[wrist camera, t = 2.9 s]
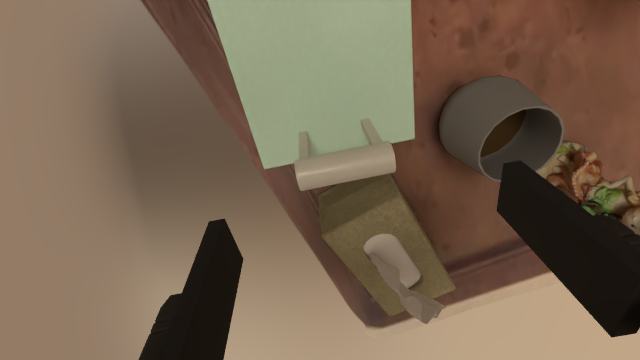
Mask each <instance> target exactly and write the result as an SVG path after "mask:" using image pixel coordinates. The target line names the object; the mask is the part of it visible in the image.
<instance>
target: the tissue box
mask: <svg viewBox="0 0 640 360" xmlns="http://www.w3.org/2000/svg"><path fill="white" fill-rule="evenodd" d="M317 198H318V207H319V217H320V226H321V235H322V238H323V239H324V240H325V241H326V242H327V244H328V245H329V246H330V247H331V248H332V250H333V251H334V252H335V253H336V254H337V255H338V257H339V258H340V259H341V260H342V261H343V262H344V264H345V265H346V266H347V267H348V268H349V269H350V271H351V272H352V273H353V274H354V275H355V277H356V278H357V279H358V280H359V281H360V282H361V284H362V285H363V286H364V287H365V288H366V289H367V291H368V292H369V293H370V294H371V295H372V296H373V298H374V299H375V300H376V301H377V302H378V303H379V305H380V306H381V307H382V308H383V309H384V311H385V312H386V313H387V314H388V315H389V316H393V315H395V314H398V313H400V312H403V311H405V310H407V312H408V313H410V314H411V315H413V316H414V317H415V318H417V319H418V320H420V321H421V322H423V323H426V324H427V323H428V322H429V321H430V320H431V319H432V317H433V318H437V317H438V315H439V313H440V312H441V310H442V309H443V308H446V307H445V306H444V305H442V304H440V303H438V302H437V301H435V300H433V299H434V298H436V297H438V296H441V295H443V294H446V293H448V292H450V291H453V290H455V288H456V287H455V286H454V284H453V282H452V280H451V278H450V276H449V274H448V273H447V271H446V269H445V267H444V265H443V263H442V261H441V259H440V258H439V256H438V254H437V252H436V250H435V248H434V246H433V245H432V243H431V241H430V240H429V238H428V236H427V234H426V233H425V231H424V229H423V228H422V226H421V224H420V222H419V221H418V219H417V217H416V216H415V214H414V212H413V210H412V209H411V207H410V205H409V204H408V202H407V200H406V198H405V197H404V195H403V193H402V192H401V190H400V188H399V186H398V185H397V183H396V181H395V180H394V178H393V176H392V174H391V173H390V174H385V175H380V176H375V177H370V178H365V179H359V180H354V181H349V182H344V183H340V184H338V185H336V186H334V187H332V188H330V189H329V190H327V191H325V192H323V193H321V194H320V195H318V197H317Z"/></svg>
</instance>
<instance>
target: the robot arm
mask: <svg viewBox="0 0 640 360" xmlns="http://www.w3.org/2000/svg"><path fill="white" fill-rule="evenodd" d="M497 212H498V213H499V214H500V215H501V216H502V217H503V218H504V219H505V220H506V222H507V223H508V224H509V225H510V226H511V227H512V228H513V229H514V230H515V231H516V233H517V234H518V235H519V236H520V237H521V238H522V239H523V240H524V241H525V242H526V244H527V245H528V246H529V247H530V248H531V249H532V250H533V251H534V252H535V254H536V255H537V256H538V257H539V258H540V259H541V260H542V261H543V262H544V263H545V265H546V266H547V267H548V268H549V269H550V270H551V271H552V272H553V273H554V274H555V276H556V277H557V278H558V279H559V280H560V281H561V282H562V283H563V284H564V285H565V287H566V288H567V289H568V290H569V291H570V292H571V293H572V294H573V295H574V296H575V298H576V299H577V300H578V301H579V302H580V303H581V304H582V305H583V306H584V308H585V309H586V310H587V311H588V312H589V313H590V314H591V315H592V316H593V317H594V319H595V320H596V321H597V322H598V323H599V324H600V325H601V326H602V327H603V329H604V330H605V331H606V332H607V333H608V334H609V335H610V336H611V337H617V336H623V335H629V334H634V333H637V331H638V330H639V328H640V235H638V234H635V232H634V231H633V230H631V229H630V228H628V227H627V226H626V225H624V224H623V223H621V222H620V221H618V220H615V219H613V218H611V217H608V216H606V215H604V214H599V215H594V216H593V215H592V214H590V213H589V212H588V211H587V210H585V209H584V208H583V207H581V206H580V205H579V204H577V203H576V202H575V201H573V200H572V199H571V198H569V197H568V196H567V195H565V194H564V193H563V192H562V191H560V190H559V189H558V188H556V187H555V186H554V185H552V184H551V183H550V182H548V181H547V180H546V179H544V178H543V177H542V176H540V175H539V174H538V173H537V172H535V171H534V170H533V169H531V168H530V167H529V166H527V165H526V164H525V163H523V162H522V161H521V160H519V161H514V162H509V163H504V164H503V169H502V176H501V183H500V190H499V198H498V205H497ZM242 263H243V257H242V255H241V253H240V251H239V249H238V246H237V244H236V242H235V240H234V238H233V236H232V234H231V232H230V229H229V227H228V225H227V223H226V221H225V219H220V220H215V221H210V222H209V223H208V226H207V228H206V231H205V234H204V236H203V239H202V242H201V244H200V247H199V250H198V252H197V255H196V257H195V260H194V263H193V266H192V268H191V271H190V273H189V276H188V279H187V281H186V284H185V287H184V289H183V292H182V293H181V294H176V295H171V296H170V297H169V298H168V299H167V301H166V302H165V303H164V304H163V306H162V307H161V308H160V311H159V313H158V316H157V318H156V320H155V323H154V325H153V327H152V329H151V334H150V335H149V337H148V339H147V341H146V344H145V346H144V348H143V351H142V353H141V356H140V358H139V360H223V359H224V353H225V349H226V344H227V339H228V334H229V328H230V323H231V318H232V313H233V308H234V303H235V298H236V293H237V288H238V283H239V278H240V273H241V267H242Z"/></svg>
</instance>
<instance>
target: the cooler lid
mask: <svg viewBox="0 0 640 360" xmlns="http://www.w3.org/2000/svg"><path fill="white" fill-rule="evenodd" d="M207 1H208V4H209V7H210V10H211V13H212V16H213V19H214V22H215V25H216V28H217V31H218V34H219V37H220V40H221V43H222V46H223V49H224V52H225V55H226V58H227V60H228V63H229V66H230V69H231V72H232V75H233V78H234V81H235V84H236V87H237V90H238V93H239V96H240V99H241V102H242V105H243V108H244V111H245V114H246V117H247V120H248V123H249V126H250V129H251V132H252V135H253V138H254V141H255V144H256V147H257V150H258V153H259V156H260V159H261V162H262V165H263V168H264V169H268V168H273V167H278V166H283V165H288V164H293V163H294V166H295V173H296V178H297V182H298V186H299V189H300V190H301V191H304V190H309V189H314V188H319V187H324V186H329V185H334V184H339V183H344V182H349V181H354V180H359V179H365V178H370V177H375V176H380V175H385V174H390V173H394V172H395V171H396V160H395V155H394V151H393V147H392V145H391V143H396V142H401V141H406V140H411V139H415V130H414V94H413V58H412V23H411V0H207Z"/></svg>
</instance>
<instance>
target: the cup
mask: <svg viewBox="0 0 640 360" xmlns="http://www.w3.org/2000/svg"><path fill="white" fill-rule="evenodd" d="M564 129H565V128H564V125H563V121H562V118H561V116H560V115H558V114H557V113H556V112H555V111H554V110H553V109H552V108H551V107H549V106H548V105H547V104H546V103H545V102H543V101H542V100H541V99H540V98H539V97H537V96H536V95H535V94H534V93H533V92H531V91H530V90H529V89H528V88H526V87H525V86H524V85H523V84H522V83H520V82H519V81H518V80H515V79H511V78H508V77H504V76H500V75H498V76H490V77H482V78H479V79H477V80H475V81H473V82H470V83H468V84H466V85H464V86H462V87H460V88H458V89H457V90H456V91H455V92H454V93H452V94H451V95H450V96H449V98H448V99H447V101H446V102H445V104H444V106H443V110H442V113H441V117H440V122H439V131H440V140H441V142H442V143H443V145H444V147H445V149H446V150H447V152H448V153H449V154H451V155H452V156H454V157H455V158H456V159H458V160H459V161H461V162H463V163H464V164H466V165H468V166H469V167H471V168H472V169H474V170H476V171H477V172H479V173H481V174H482V175H484V176H486V177H487V178H489V179H491V180H492V181H497V182H501V176H502V169H503V164H504V163H509V162H514V161H519V160H521V161H522V162H523V163H525V164H526V165H527V166H529V167H530V168H531V169H533V170H534V171H535V172H538V171H539V170H541V169H542V168H544V167H545V166H546V165H547V164H548V163H549V162H550V160H551V159H552V158H553V157H554V156H555V155H556V153H557V151H558V149H559V148H560V146H561V144H562V142H563V136H564Z"/></svg>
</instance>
